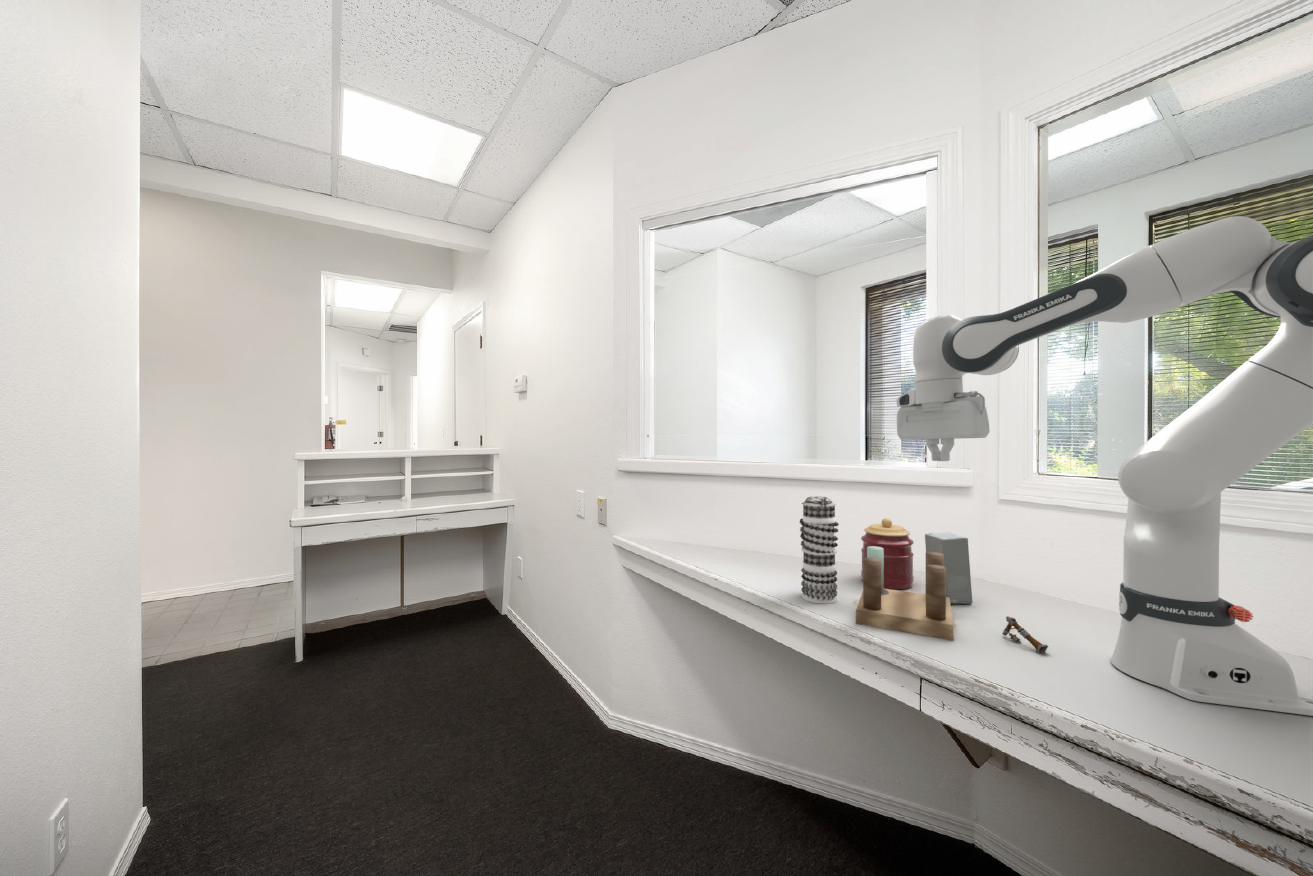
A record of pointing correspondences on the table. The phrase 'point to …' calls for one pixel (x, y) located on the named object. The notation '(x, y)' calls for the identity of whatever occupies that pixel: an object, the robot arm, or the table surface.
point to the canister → (891, 553)
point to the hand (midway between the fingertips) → (940, 461)
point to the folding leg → (878, 554)
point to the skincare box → (953, 564)
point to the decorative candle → (819, 550)
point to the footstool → (907, 602)
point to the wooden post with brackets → (1024, 633)
